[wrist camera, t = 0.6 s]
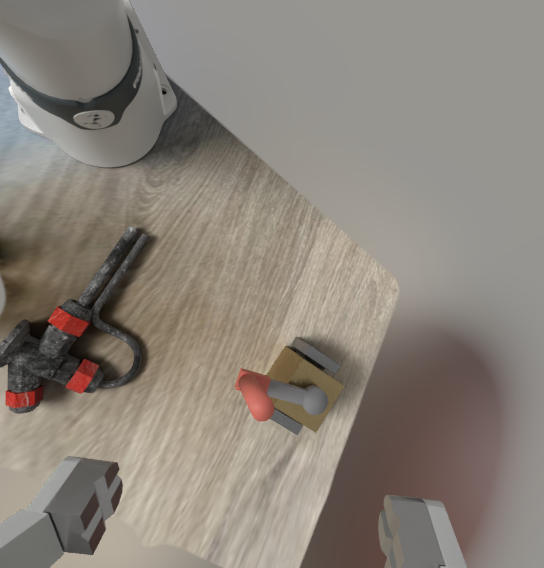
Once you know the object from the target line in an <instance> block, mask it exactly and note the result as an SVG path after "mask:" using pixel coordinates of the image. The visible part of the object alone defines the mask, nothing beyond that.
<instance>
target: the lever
mask: <svg viewBox="0 0 544 568" xmlns="http://www.w3.org/2000/svg"><path fill="white" fill-rule="evenodd" d="M235 387H236V390H240V391H241V392H242V394H243V397H244V399H245V401H246V403H247V405H248V407H249V409H250V411H251V413H252V415H253V417H254V418H255V419H256V420H258V421H266V420H268V419H270V418H271V417H272V415H273V413H274V409H275V408H274V404H273V402H272V401H271V399H270V398H269V396H270V397H273V398H277V399H281V400H284V401H288V402H292V403H295V404H299V405H301V406H302V407H303V408H304V409H305V410H306V411H307V412H308V413H309V414H311V415H318V414H321V413H322V412H323V411H324V410H325V409H326V407H327V405H328V397H327V395H326V393H325V392H324V391H323V390H322V389H320V388H319V387H318V386H315V385H310V386H307V387H306V388H301V387H297V386H294V385H290V384H287V383H283V382H280V381H276V380H273V379H270V377H269V376H266V375H263V374H259V373H256V372H252V371H249V370H245V369H242V368H241V370H240V372H239V375H238V378H237V381H236V384H235Z"/></svg>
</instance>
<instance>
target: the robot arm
mask: <svg viewBox="0 0 544 568" xmlns="http://www.w3.org/2000/svg"><path fill="white" fill-rule="evenodd" d="M0 63H1V65H2V67H3V69H4V72H5V74H6V75H7V76H9V78H10V83H11V86H10V87H9V91H10V93H11V95H12V97H13V98H14V99H15V100H16V102H17V103H18V113H19V119H20V122H21V123H22V125H23V126H24V127H25V128H26V129H27V130H29V131H30V132H32V133H35V134H37V135H40V136H42V137H45V138H48V139H50V140H51V141H52V142H54V143H55V144H56V145H57V146H58V147H60V148H61V149H62V150H63V151H64V152H66V153H67V154H68V155H70V156H71V157H73V158H75V159H77V160H79V161H81V162H83V163H86V164H89V165H93V166H98V167H119V166H124V165H127V164H130V163H133V162H135V161H137V160H139V159H140V158H142V157H143V156H144V155H146V154H147V153H148V152H149V151H150V150H151V148H152V147H153V146H154V144H155V143H156V141H157V139H158V137H159V134H160V131H161V128H162V126H163V123H164V122H165V120H166V119H167V118H168V117H169V116H170V115H172V113H173V112H174V111H175V110H176V108H177V99H176V96H175V94H174V92H173V90H172V88H171V86H170V84H169V82H168V80H167V78H166V75H165V73H164V71H163V69H162V67H161V65H160V63H159V61H158V59H157V57H156V55H155V53H154V51H153V48H152V47H151V44H150V42H149V40H148V38H147V36H146V34H145V32H144V30H143V28H142V26H141V24H140V22H139V20H138V17H137V15H136V13H135V11H134V9H133V7H132V5H131V3H130V1H129V0H0ZM162 91H165V92H166V94H165V95H162ZM118 471H119V466H118V463H117V462H110V461H102V460H95V459H87V458H81V457H72V456H68V457H66V458H65V459H64V460H63V461H62V462H61V463H60V464H59V466H58V467H57V468H56V470H55V471H54V472H53V474H52V475H51V476H50V478H49V479H48V480H47V482H46V483H45V484H44V486H43V487H42V488H41V490H40V491H39V493H38V494H37V495H36V497H35V498H34V499H33V501H32V502H31V503H30V505H29V506H28V507H27V509H26V510H19V511H18V512H16V513H15V514H13V515H12V516H10V517H9V518H7V519H6V520H4V521H3V522H1V523H0V568H50V567H51V565H53V564H54V563H55V562H56V561H57V560H58V559H59V558H60V557H61V556H62V555H63V554H64V553H63V552H69V553H79V554H88V555H93V554H94V551H95V550H96V548H97V546H98V544H99V542H100V540H101V538H102V536H103V534H104V532H105V530H106V526H105V520H106V519H108V518H109V517H110V516H111V515H113V514H114V512H115V510H116V508H117V506H118V504H119V501H120V498H121V494H122V487H123V484H122V479H121V478H120V477H119V476H118V475H117V473H118ZM384 506H385V509H384V510H383V511H381V513H380V517H379V539H380V544H381V549H382V551H383V552H384V553H385V555H386V556H387V557H388V558H387V561H386V564H385V568H467V566H466V563H465V560H464V558H463V555H462V552H461V550H460V547H459V544H458V542H457V539H456V536H455V533H454V531H453V528H452V525H451V523H450V520H449V517H448V514H447V512H446V509H445V507H444V505H443V504H442V502H440V501H437V500H427V499H421V498H413V497H403V496H393V495H387V496H385V499H384Z"/></svg>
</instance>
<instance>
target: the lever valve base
mask: <svg viewBox="0 0 544 568" xmlns="http://www.w3.org/2000/svg"><path fill="white" fill-rule="evenodd" d="M291 345H292V346H294V347H295V348H297V350H296V352H294V351H292V350H291V349H289V348H288V347H286V346H285V347H284V349H283V350H282V352H281V353H280V355H279V357H278V358H277V360H276V361H275V363H274V364H273V366H272V367H271V369H270V370H269V372H268V373H267V375H266V376H269V377H270V379H273V380H276V381H280V382H283V383H287V384H290V385H294V386H297V387H301V388H306V387H307V386H310V385H315V386H318V387H319V388H320V389H322V390H323V391H324V392H325V393H326V395H327V397H328V405H327V407H326V409H325V410H324V411H323V412H322V413H321V414H318V415H311V414H309V413H308V412H307V411H306V410H305V409H304V408H303V407H302V406H301V405H299V404H295V403H292V402H288V401H284V400H281V399H277V398H273V397H270V396H269V398H270V399H271V401H272V402H273V404H274V408H275V409H274V413H273V415H272V417H271V418H270V419H271V420H273V421H275V422H276V423H278V424H280V425H281V426H283V427H285V428H286V429H288V430H290V431H291V432H293V433H295V434H297V435H298V433H299V432H300V430H301V429H302V427H303V425H304V426H306V427H308V428H309V429H311V430H313V431H314V432H317V430H318V429H319V427H320V425H321V424H322V422H323V421H324V419H325V417H326V416H327V414H328V412H329V411H330V409H331V407H332V406H333V404H334V403H335V401H336V399H337V398H338V396H339V394H340V393H341V391H342V390H343V388H344V385H342V384H341V383H339V382H338V381H336V380H335V379H334V378H332V377H331V376H329V375H328V374H327V373H325V372H324V369H325V368H326V369H328V370H329V371H331V372H332V373H334V374H336V372H337V370H338V369H339V367H340V365H339V364H337V363H336V362H334V361H333V360H331V359H330V358H328V357H327V356H325V355H324V354H322V353H321V352H320V351H318V350H317V349H315V348H314V347H312V346H311V345H309V344H307V343H306V342H304V341H302V340H300V339H299V338H297V337H296V338H295V340H294V341H293V343H292V344H291ZM302 424H303V425H302Z"/></svg>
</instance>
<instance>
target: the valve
mask: <svg viewBox="0 0 544 568" xmlns="http://www.w3.org/2000/svg"><path fill="white" fill-rule="evenodd" d="M138 232H139V231H138V230H137V229H135V228H134V227H132V226H131V225H130V226H129V227H128V229H127V230H126V232H125V233H124V235H123V236H122V237H121V239H120V240H119V242H118V243H117V245H116V246H115V248H114V249H113V250H112V252H111V253H110V255H109V256H108V258H107V259H106V261H105V262H104V263H103V265H102V266H101V268H100V269H99V271H98V272H97V273H96V275H95V276H94V278H93V279H92V281H91V282H90V284H89V285H88V286H87V288H86V289H85V291H84V292H83V294H82V295H81V296H80V298H79V299H78V301H76V300H73V299H69V300H68V301H66V302H65V303H64V304H63V305H62V306H58V307H57V308H56V310H55V311H54V312H53V314H52V315H51V317H50V318H49V320H48V322H49V323H51V324H52V325H49V327H48V328H47V330H46V331H45V333H44V334H43V336H42V337H41V338H40V340H38V339H36V338H34V337H32V336H31V334H30V324H31V322H29V321H27V320H23V321H21V322H20V323H19V324H18V325H17V326H16V327H15V328H14V329H13V330H12V331H11V332H10V334H9V335H8V336H7V337H6V338H5V340H3V341H2V343H1V345H0V367H3V366H5V365H6V364H8V390H7V391H6V405H7V406H9V409H10V410H11V411H13V412H14V413H18V414H19V413H27V412H30V411H33V410H34V409H35V408H36V407H37V406H39V404H40V401H41V400H42V399H43V386H42V385H40V384H41V377H43V378H46V379H48V380H50V379H51V380H54V381H56V382H58V383H61V384H63V385H64V384H65V383H66V382H67V383H68V384H67V385H66V387H65V388H68V389H70V390H73V391H75V392H77V393H80V394H81V393H83V392H86V393H93V392H94V391H95V390H96V388H97V387H99V388H115V387H119V386H122V385H123V384H125V383H127V382H129V381H130V380H131V379H132V378H133V377H134V376H135V375H136V374H137V372H138V370H139V368H140V366H141V361H142V353H141V349H140V347H139V345H138V343H137V342H136V341H135V339H134V338H133V337H131V336H129V335H128V334H126V333H124V332H122V331H120V330H118V329H116V328H114V327H112V326H110V325H108V324H106V323H104V322H103V321H101V319H100V318H99V312H100V310H101V308H102V307H103V305H104V304H105V302H106V301H107V299H108V298H109V296H110V295H111V293H112V292H113V290H114V289H115V287H116V286H117V284H118V283H119V281H120V280H121V278H122V277H123V276H124V274H125V273H126V271H127V270H128V268H129V267H130V265H131V264H132V262H133V261H134V259H135V258H136V256H137V255H138V253H139V252H140V250H141V249H142V247H143V246H144V244H145V243H146V241H147V240H148V238H149V237H148V236H147V235H145V234H142V235H141V237H140V238H139V240H138V241H137V243H136V244H135V245H134V247H133V248H132V250H131V251H130V253H129V254H128V256H127V257H126V259H125V260H124V262H123V263H122V265H121V266H120V268H119V269H118V270H117V272H116V273H115V275H114V276H113V278H112V279H111V281H110V282H109V284H108V285H107V287H106V288H105V290H104V291H103V293H102V294H101V295H100V297H99V298H98V300H97V301H96V303H95V304H94V306H93V308H92V309H91V308H90V307H88V305H89V303H90V302H91V301H92V299H93V298H94V296H95V295H96V293H97V292H98V290H99V289H100V287H101V286H102V285H103V283H104V282H105V280H106V279H107V277H108V276H109V274H110V273H111V271H112V270H113V269H114V267H115V266H116V264H117V263H118V261H119V260H120V258H121V257H122V255H123V254H124V253H125V251H126V250H127V248H128V247H129V245H130V244H131V242H132V241H133V239H134V238H135V237H136V235H137V234H138ZM91 322H92V323H93V324H94V325H95V326H96V327H97V328H99V329H100V330H102V331H104V332H106V333H108V334H110V335H112V336H114V337H117V338H119V339H121V340H123V341H124V342H126V343H127V344H128V345H129V346H130V347H131V348H132V350H133V353H134V363H133V366H132V368H131V369H130V370H129V372H128V373H127V374H125V375H124V376H123V377H121V378H119V379H116V380H110V381H107V380H102V379H103V376H104V373H103V372H102V371H101V370H100V369H99V368H98V367H99V365H97V364H95V363H93V362H91V361H88V360H86V359H84V360H83V361H82V362H81V363H79V361H80V359H78V358H75V357H73V356H71V355H69V354H68V353H67V352H68V350H69V349H70V347H71V346H72V345H73V343H74V342H75V340H76V339H77V337H76V336H78V337H80V336H82V335H83V334H84V332H85V331H86V329H87V328H88V327H89V325H90V324H91Z"/></svg>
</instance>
